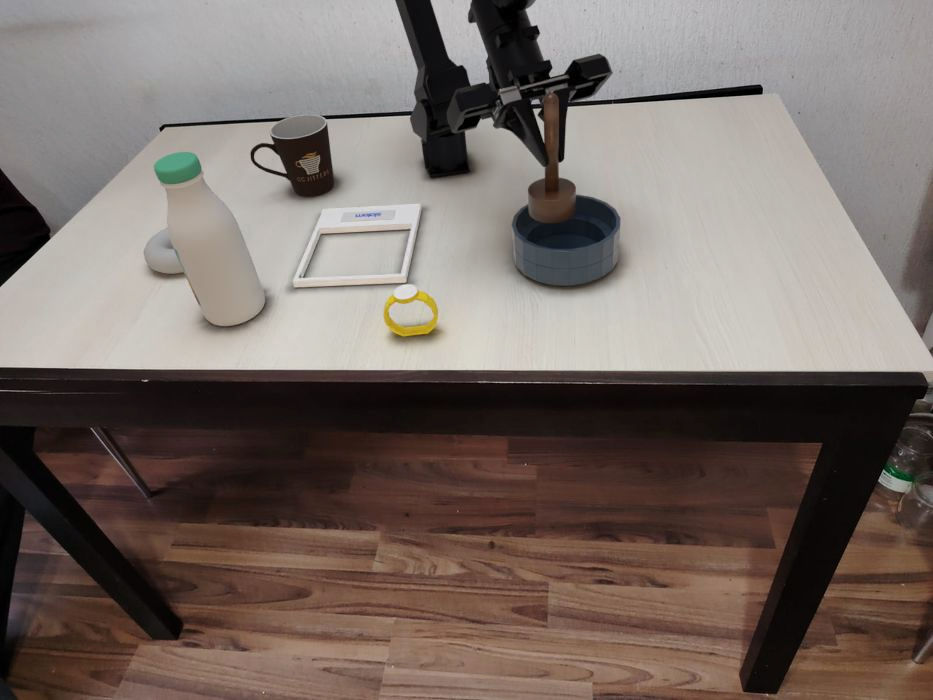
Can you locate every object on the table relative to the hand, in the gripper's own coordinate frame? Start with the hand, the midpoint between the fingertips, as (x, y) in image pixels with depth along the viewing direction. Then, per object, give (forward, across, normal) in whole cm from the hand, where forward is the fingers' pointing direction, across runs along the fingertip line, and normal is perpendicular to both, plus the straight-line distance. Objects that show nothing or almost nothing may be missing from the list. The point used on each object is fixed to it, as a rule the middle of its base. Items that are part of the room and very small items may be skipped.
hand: (553, 163), depth 76 cm
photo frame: (-2, +21, -21) cm, 30 cm away
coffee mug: (-17, +24, -37) cm, 47 cm away
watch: (+13, +20, -6) cm, 25 cm away
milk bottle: (+2, +39, -18) cm, 43 cm away
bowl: (+10, -2, -9) cm, 14 cm away
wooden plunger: (+4, 0, -5) cm, 6 cm away
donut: (-9, +44, -29) cm, 53 cm away
